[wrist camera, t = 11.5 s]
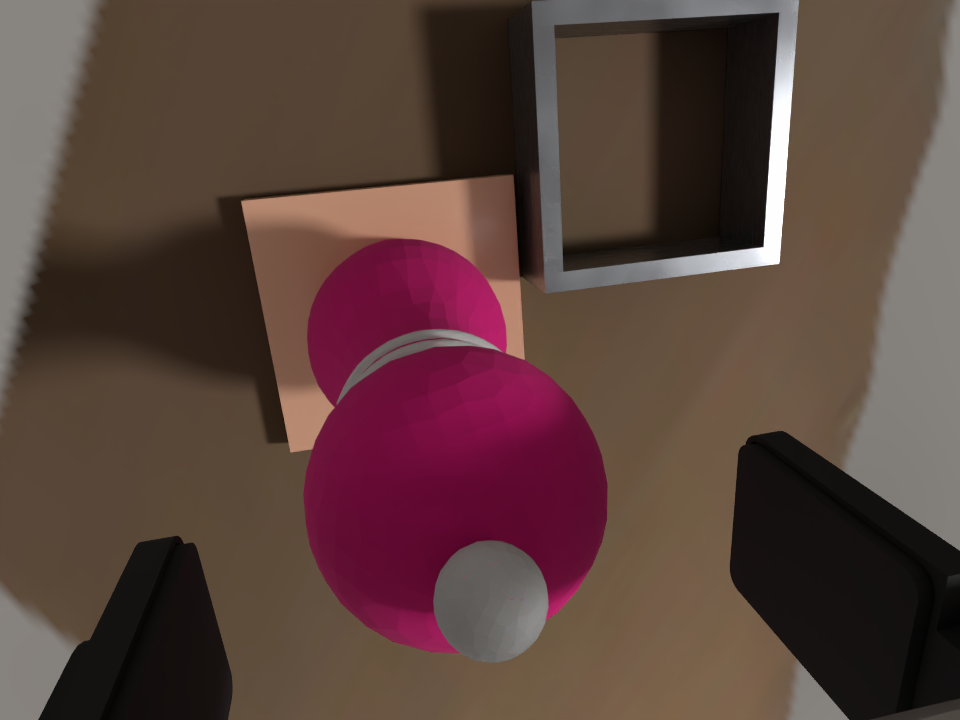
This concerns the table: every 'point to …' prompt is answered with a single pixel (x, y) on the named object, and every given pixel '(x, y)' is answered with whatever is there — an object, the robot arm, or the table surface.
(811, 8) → the table surface
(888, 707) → the robot arm
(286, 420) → the plate
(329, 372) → the pepper mill
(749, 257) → the holder sleeve
